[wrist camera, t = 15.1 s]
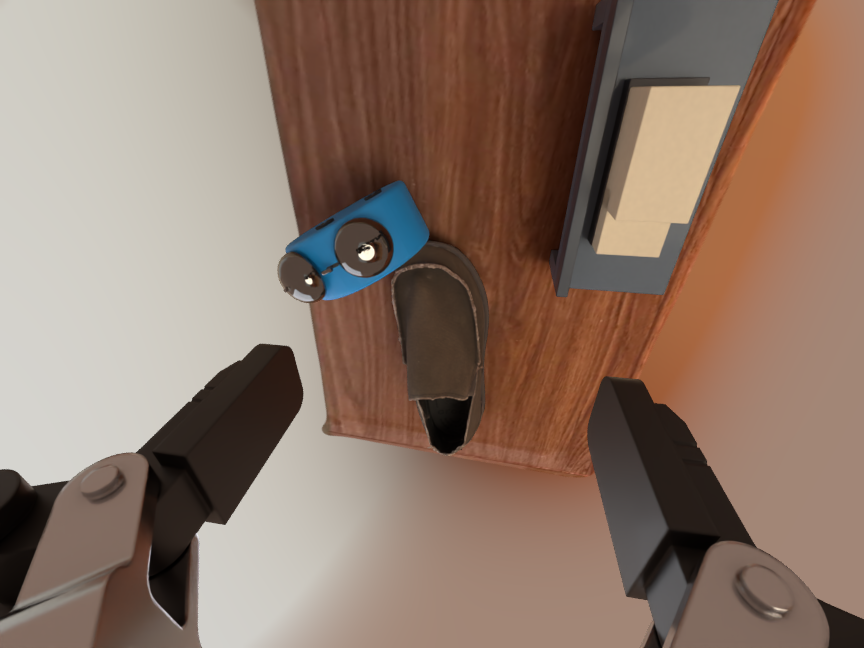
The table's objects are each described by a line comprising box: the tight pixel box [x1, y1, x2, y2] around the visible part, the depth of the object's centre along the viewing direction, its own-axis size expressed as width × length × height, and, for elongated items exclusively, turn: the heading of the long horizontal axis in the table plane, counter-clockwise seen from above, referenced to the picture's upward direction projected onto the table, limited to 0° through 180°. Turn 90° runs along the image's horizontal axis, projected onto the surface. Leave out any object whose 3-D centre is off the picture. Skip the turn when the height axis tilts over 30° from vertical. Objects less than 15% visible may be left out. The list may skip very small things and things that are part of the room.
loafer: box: [391, 241, 489, 456], centre depth 44 cm, size 11×30×11 cm, turn 13°
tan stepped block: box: [588, 77, 740, 257], centre depth 26 cm, size 12×5×6 cm, turn 1°
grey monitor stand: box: [549, 0, 779, 297], centre depth 30 cm, size 22×10×8 cm, turn 0°
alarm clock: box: [278, 181, 429, 303], centre depth 35 cm, size 13×6×15 cm, turn 118°
